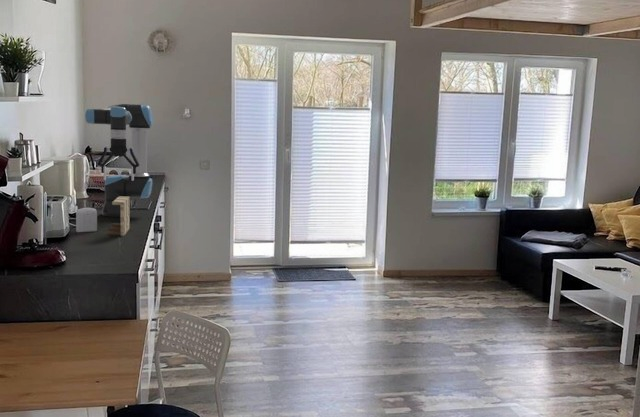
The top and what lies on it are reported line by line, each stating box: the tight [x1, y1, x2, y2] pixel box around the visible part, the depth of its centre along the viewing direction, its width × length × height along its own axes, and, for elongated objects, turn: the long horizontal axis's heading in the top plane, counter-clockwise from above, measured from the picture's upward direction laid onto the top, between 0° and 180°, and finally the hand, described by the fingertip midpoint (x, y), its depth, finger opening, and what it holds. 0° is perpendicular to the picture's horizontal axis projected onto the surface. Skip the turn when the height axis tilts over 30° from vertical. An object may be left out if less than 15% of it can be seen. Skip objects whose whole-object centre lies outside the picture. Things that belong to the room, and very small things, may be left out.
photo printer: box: [75, 207, 98, 233], centre depth 320 cm, size 10×4×12 cm, turn 123°
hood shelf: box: [107, 196, 131, 237], centre depth 322 cm, size 18×8×17 cm, turn 8°
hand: (118, 179), depth 316 cm, fingers open, 13 cm apart
